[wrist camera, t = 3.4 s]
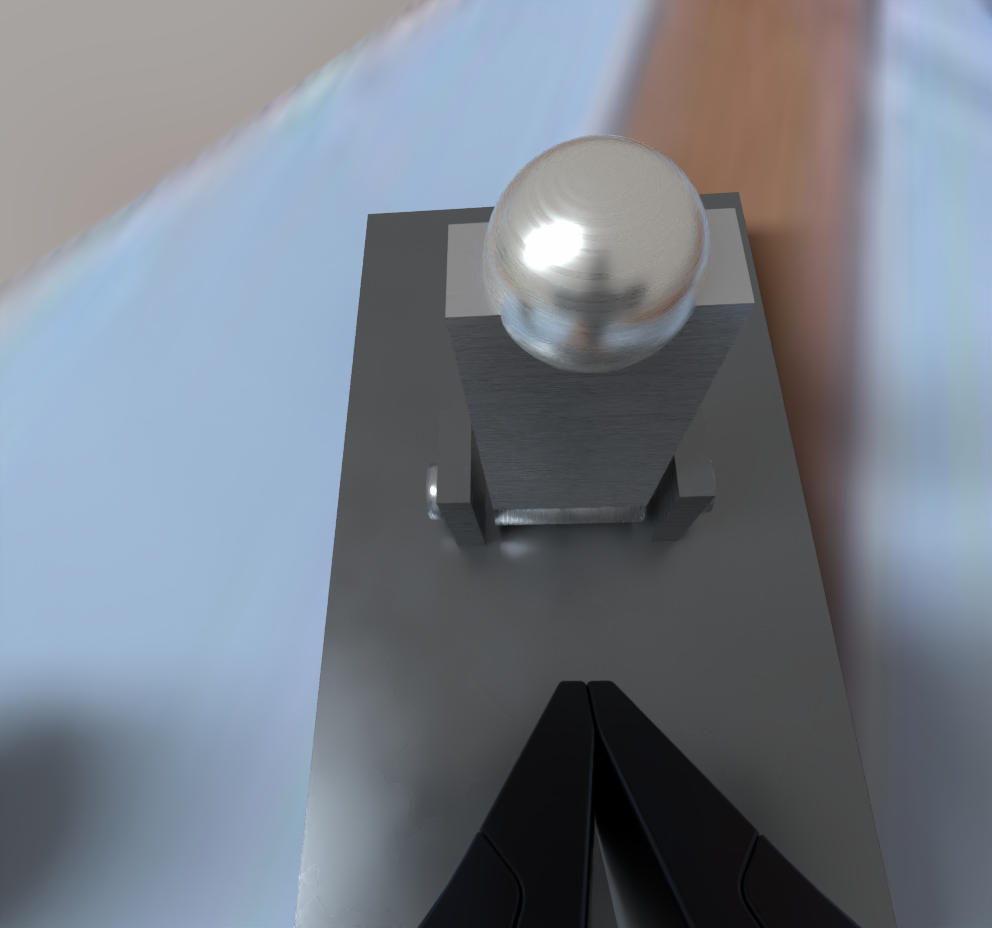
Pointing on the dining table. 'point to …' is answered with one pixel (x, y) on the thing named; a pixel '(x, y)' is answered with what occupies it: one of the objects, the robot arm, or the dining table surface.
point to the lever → (591, 327)
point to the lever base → (561, 619)
